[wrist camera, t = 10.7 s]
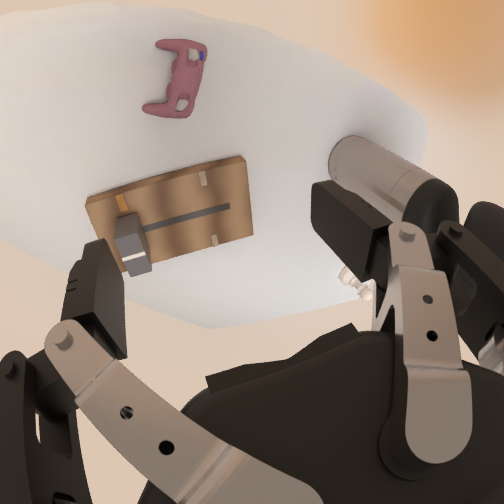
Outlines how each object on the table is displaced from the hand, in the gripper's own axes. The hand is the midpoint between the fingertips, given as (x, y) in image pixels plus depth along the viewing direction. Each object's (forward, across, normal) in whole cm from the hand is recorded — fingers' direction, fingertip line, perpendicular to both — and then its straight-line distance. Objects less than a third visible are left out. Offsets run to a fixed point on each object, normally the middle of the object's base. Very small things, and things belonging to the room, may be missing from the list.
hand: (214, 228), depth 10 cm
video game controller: (+28, -2, -5) cm, 29 cm away
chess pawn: (+28, -31, +39) cm, 57 cm away
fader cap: (+25, +8, +14) cm, 30 cm away
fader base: (+28, +2, +14) cm, 31 cm away
